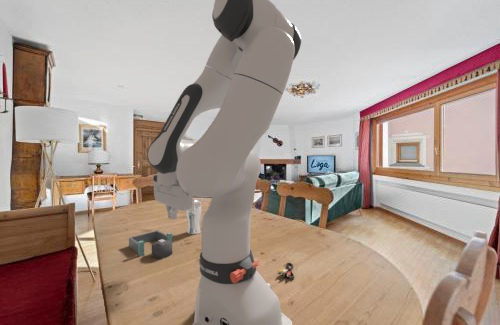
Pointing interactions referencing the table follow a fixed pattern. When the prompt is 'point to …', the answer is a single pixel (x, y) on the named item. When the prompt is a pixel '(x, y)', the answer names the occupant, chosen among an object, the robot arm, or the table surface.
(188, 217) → the beer glass
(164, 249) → the dark grey rounded dome
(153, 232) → the cable holder
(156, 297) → the table surface
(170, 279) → the table surface
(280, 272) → the composite cable
